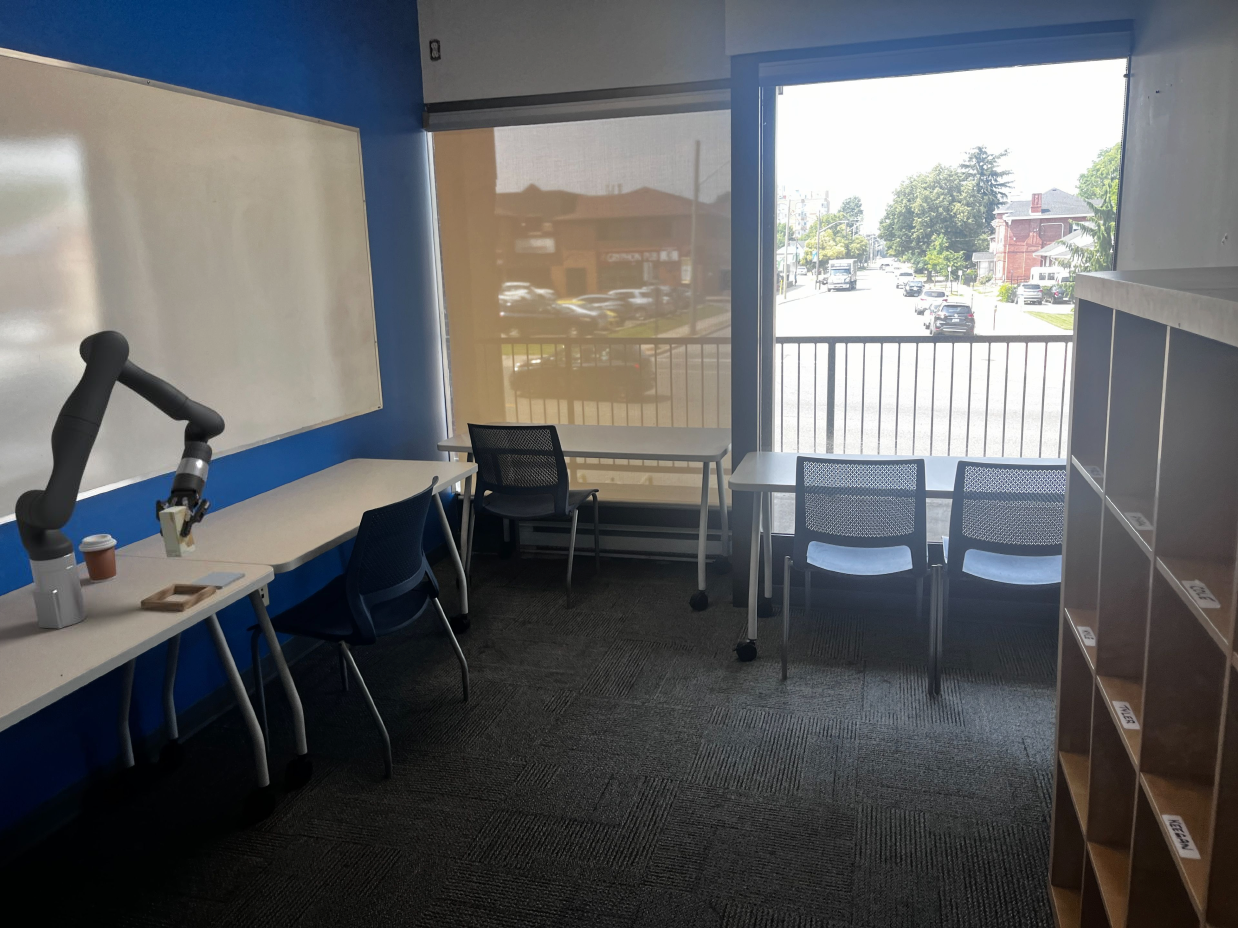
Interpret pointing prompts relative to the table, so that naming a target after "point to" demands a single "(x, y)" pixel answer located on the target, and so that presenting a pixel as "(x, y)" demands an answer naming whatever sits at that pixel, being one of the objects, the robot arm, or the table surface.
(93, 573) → the coffee cup
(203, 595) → the frame
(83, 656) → the table surface
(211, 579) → the grey rubber pad
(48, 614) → the robot arm
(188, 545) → the skincare box
